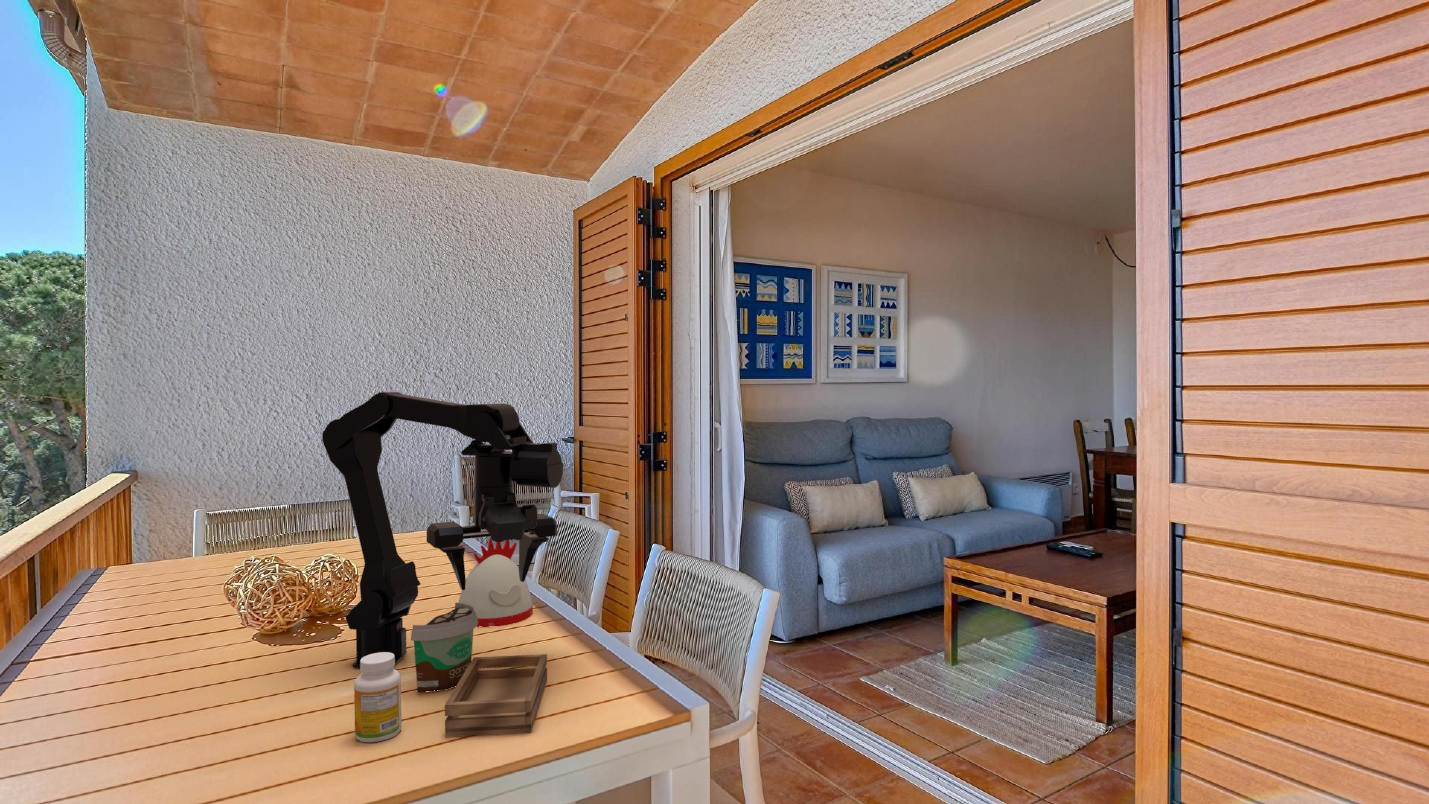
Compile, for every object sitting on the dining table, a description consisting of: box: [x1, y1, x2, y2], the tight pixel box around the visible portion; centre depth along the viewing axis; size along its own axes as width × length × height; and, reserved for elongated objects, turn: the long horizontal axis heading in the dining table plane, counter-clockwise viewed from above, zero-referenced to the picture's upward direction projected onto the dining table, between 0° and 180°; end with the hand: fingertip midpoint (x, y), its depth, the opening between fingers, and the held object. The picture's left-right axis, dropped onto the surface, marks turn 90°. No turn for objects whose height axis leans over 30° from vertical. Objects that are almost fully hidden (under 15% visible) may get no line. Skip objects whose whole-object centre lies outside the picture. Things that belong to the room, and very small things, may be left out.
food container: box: [410, 602, 478, 693], centre depth 111 cm, size 12×6×10 cm, turn 168°
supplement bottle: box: [353, 652, 403, 743], centre depth 94 cm, size 5×5×10 cm
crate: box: [444, 653, 548, 738], centre depth 102 cm, size 11×17×4 cm, turn 6°
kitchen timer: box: [457, 537, 534, 628], centre depth 143 cm, size 14×14×15 cm
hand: (493, 585), depth 115 cm, fingers open, 9 cm apart
